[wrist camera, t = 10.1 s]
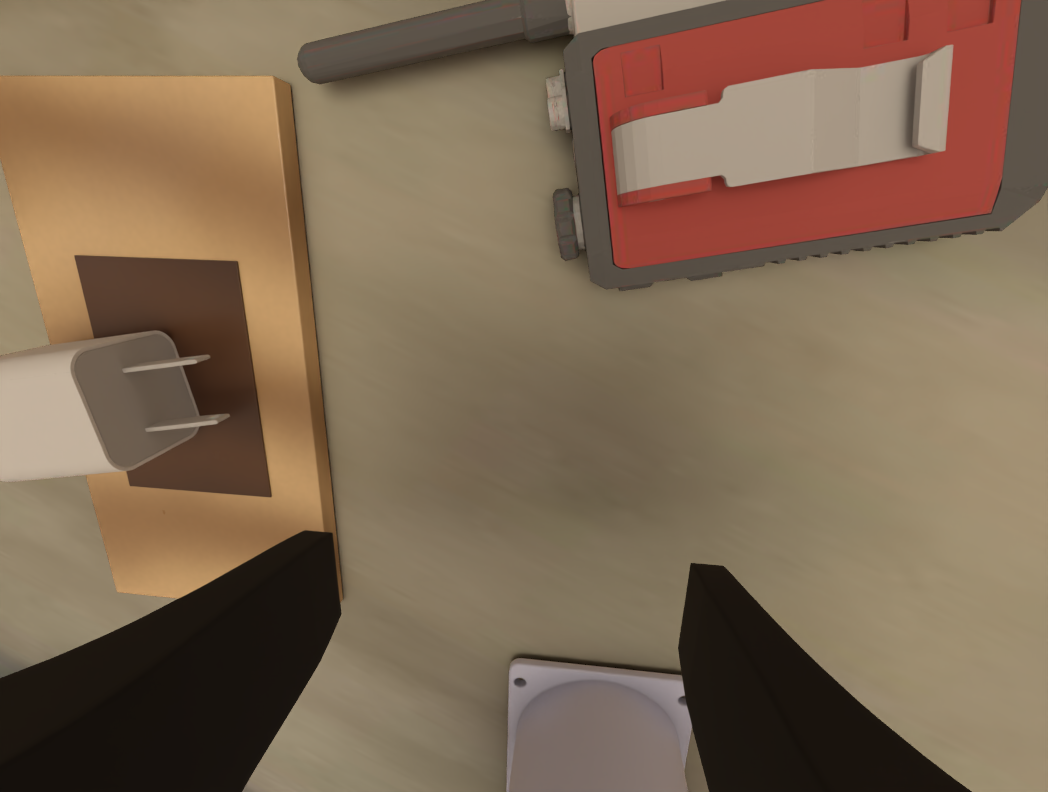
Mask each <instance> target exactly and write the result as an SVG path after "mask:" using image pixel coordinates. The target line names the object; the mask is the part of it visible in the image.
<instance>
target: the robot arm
mask: <svg viewBox="0 0 1048 792" xmlns="http://www.w3.org/2000/svg"><path fill="white" fill-rule="evenodd" d="M340 616H341V606H340V596H339V587H338V578H337V569H336V559H335V550H334V541H333V533H331V532H320V531H308V530H304V531H302V532H300V533H298V534H296V535H294V536H292V537H290V538H288V539H286V540H284V541H282V542H280V543H278V544H277V545H275V546H273V547H271V548H269V549H268V550H266V551H264V552H262V553H261V554H259V555H257V556H255V557H254V558H252V559H250V560H248V561H247V562H245V563H243V564H241V565H239V566H238V567H236V568H234V569H232V570H230V571H229V572H227V573H225V574H223V575H222V576H220V577H218V578H216V579H214V580H213V581H211V582H209V583H207V584H206V585H204V586H202V587H200V588H198V589H196V590H194V591H192V592H190V593H188V594H187V595H185V596H183V597H181V598H179V599H177V600H175V601H173V602H171V603H169V604H167V605H165V606H164V607H162V608H160V609H158V610H156V611H154V612H152V613H150V614H148V615H146V616H144V617H142V618H140V619H138V620H136V621H134V622H132V623H130V624H128V625H126V626H124V627H122V628H119V629H117V630H115V631H113V632H111V633H109V634H107V635H104V636H102V637H100V638H98V639H95V640H93V641H91V642H89V643H86V644H84V645H82V646H80V647H77V648H75V649H73V650H71V651H68V652H66V653H63V654H61V655H59V656H56V657H54V658H51V659H49V660H46V661H44V662H41V663H39V664H36V665H33V666H31V667H28V668H26V669H23V670H21V671H18V672H15V673H13V674H10V675H8V676H5V677H2V678H0V792H242V791H243V789H244V787H245V785H246V784H247V782H248V780H249V778H250V777H251V775H252V773H253V772H254V770H255V768H256V767H257V765H258V763H259V762H260V760H261V758H262V757H263V755H264V754H265V752H266V750H267V749H268V747H269V745H270V744H271V742H272V740H273V739H274V737H275V736H276V734H277V732H278V731H279V729H280V727H281V726H282V724H283V722H284V721H285V719H286V718H287V716H288V714H289V713H290V711H291V709H292V708H293V706H294V705H295V703H296V701H297V700H298V698H299V696H300V695H301V693H302V691H303V690H304V688H305V686H306V685H307V683H308V681H309V680H310V678H311V676H312V675H313V673H314V671H315V669H316V668H317V666H318V664H319V663H320V661H321V659H322V656H323V654H324V652H325V650H326V648H327V646H328V644H329V641H330V639H331V637H332V635H333V632H334V630H335V628H336V625H337V623H338V621H339V618H340ZM678 650H679V658H680V665H681V672H682V675H675V674H665V673H656V672H646V671H637V670H628V669H618V668H609V667H600V666H590V665H581V664H572V663H562V662H553V661H544V660H534V659H525V658H517V659H514V660H513V661H512V662H511V664H510V669H509V696H508V742H507V787H506V792H688V788H687V783H686V777H685V772H684V770H685V764H686V758H687V753H688V747H689V741H690V735H691V729H692V728H693V732H694V735H695V739H696V743H697V747H698V751H699V755H700V758H701V762H702V766H703V770H704V774H705V777H706V781H707V785H708V789H709V792H971V791H970V790H969V789H967V788H966V787H964V786H963V785H962V784H960V783H959V782H958V781H956V780H955V779H953V778H952V777H951V776H950V775H948V774H947V773H946V772H944V771H943V770H942V769H940V768H939V767H938V766H937V765H935V764H934V763H933V762H931V761H930V760H929V759H927V758H926V757H925V756H924V755H922V754H921V753H920V752H919V751H917V750H916V749H915V748H914V747H913V746H911V745H910V744H909V743H908V742H906V741H905V740H904V739H903V738H902V737H900V736H899V735H898V734H897V733H895V732H894V731H893V730H892V729H891V728H889V727H888V726H887V725H886V724H884V723H883V722H882V721H881V720H880V719H878V718H877V717H876V716H875V715H874V714H872V713H871V712H870V711H869V710H868V709H867V708H866V707H864V706H863V705H862V704H861V703H860V702H859V701H857V700H856V699H855V698H854V697H853V696H852V695H851V694H850V693H849V692H848V691H847V690H845V689H844V688H843V687H842V686H841V685H840V684H839V683H838V682H837V681H836V680H835V679H833V678H832V677H831V676H830V675H829V674H828V673H827V672H826V671H825V670H824V669H823V668H822V667H821V666H819V665H818V664H817V663H816V662H815V661H814V660H813V659H812V658H811V657H810V656H809V655H808V654H807V653H806V652H805V651H804V650H803V649H802V648H801V647H800V646H799V645H798V644H797V643H796V642H795V641H794V640H793V639H792V638H791V637H790V636H789V635H788V634H787V633H786V632H785V631H784V630H783V629H782V628H781V627H780V626H779V625H778V624H777V623H776V621H775V620H774V619H773V618H772V617H771V616H770V615H769V614H768V613H767V612H766V611H765V610H764V609H763V608H762V607H761V606H760V604H759V603H758V602H757V601H756V600H755V599H754V598H753V597H752V596H751V595H750V594H749V593H748V592H747V590H746V589H745V588H744V587H743V586H742V585H741V584H740V583H739V582H738V581H737V580H736V579H735V577H734V576H733V575H732V574H731V573H730V572H729V571H728V570H727V569H726V568H725V567H724V566H719V565H707V564H695V563H691V565H690V572H689V579H688V585H687V592H686V599H685V606H684V612H683V619H682V626H681V632H680V639H679V646H678ZM518 678H522V679H524V680H520V679H518ZM682 696H685V697H683V698H682Z"/></svg>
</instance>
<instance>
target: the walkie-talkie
mask: <svg viewBox="0 0 1048 792" xmlns="http://www.w3.org/2000/svg"><path fill="white" fill-rule="evenodd" d="M569 34H571V35H574V38H573V40H572V41H571V42H570V43H569V44H568V45H567V47H566V48H565V49H564V50H563V55H564V64H565V72H564V73H563V69H561V70H559V73H560V75H558V76H554V77H550V78H546V85H547V94H548V98H547V103H548V112H549V119H550V125H551V129H552V131H555V130H556V131H557V130H560V129H561V130H562V129H566V132H567V133H571V132H570V130H572V133H573V140H572V145H573V153H574V162H575V165H576V172H577V180H578V188H579V194H578V196H572V192H571V190H570V189H568V188H565V189H558V190H556V191H555V192H554V193H553V202H554V215H555V224H556V231H557V237H558V242H559V248H560V253H561V258H562V259H564V260H565V261H568V260H571V259H575V258H577V257H578V256H579V250H581V249H585V251H586V252H587V259H588V267H589V275H590V281H591V282H593V283H595V284H597V285H599V286H601V287H603V288H605V289H612V288H619V290H620V291H625V290H631V289H638V288H645V287H650V286H651V285H652V284H653V283H654V282H659V281H666V280H673V279H680V278H687V279H689V280H691V281H693V280H700V279H707V278H713V277H720V276H722V272H727V271H734V270H741V269H747V268H754V267H761V266H764V264H765V262H772V263H777V264H780V263H785V261H786V259H792V260H798V261H801V260H806V258H807V256H813V257H820V258H821V257H827V255H828V254H829V253H834V254H848V253H849V251H850V250H856V251H868V250H870V249H871V248H872V247H880V248H889V247H892V246H893V245H894V244H905V245H909V244H914V243H915V242H916V241H936V240H937V239H938V238H956V237H960V236H961V235H962V234H972V235H977V234H983V233H984V231H1002V230H1004V229H1005V228H1006V227H1007V226H1009V225H1010V224H1011V223H1012V222H1014V221H1015V220H1016V219H1017V218H1019V217H1020V216H1021V215H1023V214H1024V213H1025V212H1026V211H1028V210H1029V209H1030V208H1031V207H1033V206H1034V205H1035V204H1036V203H1038V202H1039V201H1040V200H1041V198H1042V196H1043V195H1044V193H1045V191H1046V190H1047V188H1048V0H485V1H481V2H477V3H472V4H468V5H464V6H460V7H456V8H452V9H447V10H443V11H439V12H435V13H431V14H426V15H422V16H418V17H414V18H410V19H406V20H401V21H397V22H393V23H389V24H385V25H381V26H376V27H372V28H368V29H364V30H360V31H356V32H351V33H347V34H343V35H339V36H335V37H330V38H326V39H322V40H318V41H314V42H310V43H306V44H304V45H303V46H302V47H301V49H300V51H299V53H298V57H297V60H298V66H299V68H300V70H301V72H302V73H303V75H304V76H305V77H306V78H307V79H308V80H309V81H311V82H313V83H317V84H324V83H328V82H332V81H337V80H341V79H346V78H350V77H355V76H359V75H364V74H368V73H373V72H377V71H382V70H386V69H391V68H395V67H400V66H404V65H409V64H413V63H418V62H422V61H427V60H431V59H436V58H440V57H445V56H449V55H454V54H458V53H463V52H467V51H472V50H476V49H481V48H485V47H490V46H494V45H499V44H503V43H508V42H512V41H517V40H521V39H525V38H526V39H527V40H528V41H529V42H531V43H533V42H538V41H542V40H547V39H551V38H556V37H560V36H565V35H569Z"/></svg>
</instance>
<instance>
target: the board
mask: <svg viewBox="0 0 1048 792" xmlns="http://www.w3.org/2000/svg"><path fill="white" fill-rule="evenodd" d="M0 159H1V163H2V167H3V171H4V174H5V178H6V182H7V185H8V189H9V193H10V197H11V200H12V204H13V208H14V211H15V215H16V219H17V222H18V226H19V230H20V234H21V237H22V241H23V245H24V248H25V252H26V256H27V260H28V263H29V267H30V271H31V274H32V278H33V282H34V286H35V289H36V293H37V297H38V300H39V304H40V308H41V311H42V315H43V319H44V323H45V326H46V330H47V334H48V337H49V341H50V345H53V344H61V343H68V342H75V341H82V340H89V339H97V338H104V337H111V336H118V335H125V334H133V333H140V332H147V331H155V330H156V331H161V332H163V333H165V334H167V335H168V336H169V337H170V338H171V339H172V341H173V342H174V344H175V346H176V349H177V352H178V355H179V358H183V357H191V356H200V355H210V358H209V359H207V360H204V361H201V362H198V363H195V364H189V365H182V366H183V369H184V372H185V375H186V378H187V380H188V383H189V386H190V389H191V392H192V395H193V397H194V400H195V403H196V406H197V409H198V412H199V415H200V416H204V415H216V414H229V415H230V417H228V418H227V419H225V420H223V421H221V422H219V423H217V424H213V425H205V426H199V429H198V431H197V433H196V434H195V436H193V437H192V438H190V439H189V440H187V441H185V442H183V443H181V444H179V445H178V446H176V447H174V448H172V449H170V450H168V451H167V452H165V453H163V454H161V455H159V456H157V457H155V458H154V459H152V460H150V461H148V462H146V463H144V464H143V465H141V466H139V467H137V468H135V469H133V470H130V471H121V472H111V473H100V474H89V475H86V478H87V482H88V486H89V489H90V493H91V497H92V501H93V504H94V508H95V512H96V515H97V519H98V523H99V527H100V530H101V534H102V538H103V541H104V545H105V549H106V553H107V556H108V560H109V564H110V567H111V571H112V575H113V578H114V582H115V586H116V590H117V592H120V593H130V594H140V595H150V596H159V597H169V598H181V597H183V596H185V595H187V594H188V593H190V592H192V591H194V590H196V589H198V588H200V587H202V586H204V585H206V584H207V583H209V582H211V581H213V580H214V579H216V578H218V577H220V576H222V575H223V574H225V573H227V572H229V571H230V570H232V569H234V568H236V567H238V566H239V565H241V564H243V563H245V562H247V561H248V560H250V559H252V558H254V557H255V556H257V555H259V554H261V553H262V552H264V551H266V550H268V549H269V548H271V547H273V546H275V545H277V544H278V543H280V542H282V541H284V540H286V539H288V538H290V537H292V536H294V535H296V534H298V533H300V532H302V531H304V530H308V531H320V532H331V533H333V541H334V550H335V559H336V569H337V578H338V587H339V596H340V603H341V601H342V600H343V593H342V583H341V573H340V564H339V554H338V544H337V535H336V525H335V515H334V505H333V496H332V486H331V476H330V467H329V457H328V447H327V437H326V428H325V418H324V408H323V398H322V389H321V379H320V369H319V360H318V350H317V340H316V330H315V321H314V311H313V301H312V292H311V282H310V272H309V262H308V253H307V243H306V233H305V224H304V214H303V204H302V194H301V185H300V175H299V165H298V155H297V146H296V136H295V126H294V117H293V107H292V97H291V87H290V84H288V83H286V82H284V81H282V80H280V79H278V78H276V77H274V76H0Z"/></svg>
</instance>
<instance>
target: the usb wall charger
mask: <svg viewBox="0 0 1048 792" xmlns="http://www.w3.org/2000/svg"><path fill="white" fill-rule="evenodd" d="M209 358H210V355H200V356H191V357H183V358H179V355H178V352H177V349H176V346H175V344H174V342H173V341H172V339H171V338H170V337H169V336H168V335H167V334H165V333H163V332H161V331H156V330H155V331H147V332H140V333H133V334H125V335H118V336H111V337H104V338H97V339H89V340H82V341H75V342H68V343H61V344H53V345H46V346H42V347H37V348H33V349H28V350H24V351H19V352H15V353H10V354H6V355H1V356H0V481H4V482H16V481H26V480H37V479H47V478H58V477H68V476H79V475H89V474H100V473H111V472H121V471H130V470H133V469H135V468H137V467H139V466H141V465H143V464H144V463H146V462H148V461H150V460H152V459H154V458H155V457H157V456H159V455H161V454H163V453H165V452H167V451H168V450H170V449H172V448H174V447H176V446H178V445H179V444H181V443H183V442H185V441H187V440H189V439H190V438H192V437H193V436H195V434H196V433H197V431H198V429H199V426H205V425H213V424H217V423H219V422H221V421H223V420H225V419H227V418H228V417H230V415H229V414H216V415H204V416H200V415H199V412H198V409H197V406H196V403H195V400H194V397H193V395H192V392H191V389H190V386H189V383H188V380H187V378H186V375H185V372H184V369H183V366H182V365H189V364H195V363H198V362H201V361H204V360H207V359H209Z"/></svg>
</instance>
